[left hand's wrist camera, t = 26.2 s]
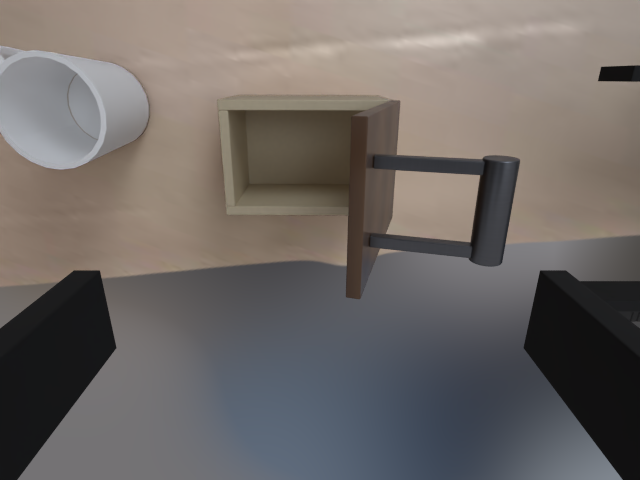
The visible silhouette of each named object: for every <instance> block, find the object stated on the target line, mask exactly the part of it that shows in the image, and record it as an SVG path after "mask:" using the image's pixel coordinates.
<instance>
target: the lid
mask: <svg viewBox="0 0 640 480" xmlns="http://www.w3.org/2000/svg"><path fill="white" fill-rule="evenodd" d="M399 113H400V101H397V100H390V101H388V102H385V103H383V104H381V105H378V106H376V107H373V108H371V109H368V110H366V111H363V112H361V113H358V114H356V115H353V116H351V142H350V176H349V210H348V244H347V279H346V297H348V298H355V299H360V298H361V296H362V293H363V290H364V288H365V285H366V283H367V280H368V278H369V275H370V273H371V270H372V267H373V265H374V262H375V260H376V257H377V255H378V252H379V250H380V248H382V249H391V250H401V251H410V252H419V253H428V254H438V255H447V256H456V257H466V258H469V260H470V261H471V262H473V263H475V264H478V265H482V266H498V265H500V264H501V263H502V260H503V254H504V248H505V243H506V237H507V232H508V226H509V220H510V215H511V209H512V204H513V198H514V192H515V187H516V181H517V176H518V170H519V165H520V159H518V158H515V157H509V156H497V155H493V156H485V157H483V159H464V158H444V157H424V156H404V155H397V141H398V127H399ZM395 170H404V171H421V172H437V173H454V174H471V175H480V181H479V188H478V195H477V201H476V208H475V215H474V222H473V229H472V236H471V243H470V242H460V241H450V240H440V239H430V238H420V237H410V236H400V235H389V234H386V232H387V229H388V227H389V224H390V222H391V219H392V213H393V199H394V184H395Z"/></svg>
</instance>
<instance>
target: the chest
mask: <svg viewBox="0 0 640 480" xmlns="http://www.w3.org/2000/svg"><path fill="white" fill-rule="evenodd" d="M390 100H391V99H388V98H385V97H382V96H362V95H236V96H232V97H227V98H223V99H218V100H217V105H218V116H219V128H220V140H221V152H222V164H223V177H224V189H225V201H226V214H227V215H348V210H349V176H350V142H351V116H353V115H356V114H358V113H361V112H363V111H366V110H368V109H371V108H373V107H376V106H378V105H381V104H383V103H385V102H388V101H390Z"/></svg>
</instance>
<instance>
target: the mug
mask: <svg viewBox="0 0 640 480" xmlns="http://www.w3.org/2000/svg"><path fill="white" fill-rule="evenodd" d="M149 116H150V110H149V102H148V98H147V94H146V92H145V90H144V88H143V86H142V85H141V83H140V82H139V81H138V80H137V78H136V77H135V76H134V75H133V74H132V73H130V72H129V71H128V70H126V69H125V68H124V67H121V66H119V65H117V64H114V63H110V62H104V61H98V60H93V59H87V58H81V57H76V56H70V55H64V54H58V53H53V52H46V51H39V50H31V51H23V50H19V49H15V48H12V47H5V46H0V133H1V134H2V136H3V137H4V139H5V140H6V142H7V143H9V144H10V145H11V146H12V147H13V148H14V149H15V150H16V151H17V152H18V153H19V154H20V155H22V156H23V157H25V158H26V159H28V160H29V161H31V162H33V163H36V164H38V165H41V166H43V167H46V168H52V169H60V170H62V169H70V168H76V167H78V166H81V165H83V164H85V163H88V162H90V161H92V160H94V159H96V158H98V157H100V156H103V155H105V154H107V153H109V152H111V151H113V150H115V149H117V148H120V147H122V146H124V145H126V144H128V143H130V142H132V141H135V140H136V139H137V138H138V137H139V136H140V135H142V133H143V132H144V130H145V128H146V127H147V124H148V120H149Z"/></svg>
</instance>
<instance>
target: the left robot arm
mask: <svg viewBox="0 0 640 480" xmlns="http://www.w3.org/2000/svg"><path fill="white" fill-rule="evenodd" d="M115 349H116V344H115V339H114V335H113V330H112V325H111V321H110V316H109V311H108V307H107V302H106V297H105V293H104V288H103V283H102V279H101V274H100V271H73V272H72V273H70V274H69V275H68V276H67V277H65V278H64V279H63V280H61V281H60V282H59V283H58V284H56V285H55V286H54V287H53V288H51V289H50V290H49V291H47V292H46V293H45V294H44V295H42V296H41V297H40V298H39V299H37V300H36V301H35V302H33V303H32V304H31V305H30V306H28V307H27V308H26V309H25V310H23V311H22V312H21V313H19V314H18V315H17V316H16V317H14V318H13V319H12V320H11V321H9V322H8V323H7V324H5V325H4V326H3V327H2V328H0V480H17V479H18V478H19V477H20V475H21V474H22V473H23V471H24V470H25V469H26V467H27V466H28V465H29V463H30V462H31V461H32V459H33V458H34V457H35V455H36V454H37V453H38V451H39V450H40V449H41V447H42V446H43V445H44V443H45V442H46V441H47V439H48V438H49V437H50V435H51V434H52V433H53V431H54V430H55V429H56V427H57V426H58V425H59V423H60V422H61V421H62V419H63V418H64V417H65V415H66V414H67V413H68V412H69V410H70V409H71V407H72V406H73V405H74V403H75V402H76V401H77V400H78V398H79V397H80V396H81V394H82V393H83V392H84V390H85V389H86V387H87V386H88V385H89V384H90V382H91V381H92V380H93V378H94V377H95V376H96V374H97V373H98V372H99V370H100V369H101V368H102V366H103V365H104V364H105V362H106V361H107V360H108V358H109V357H110V356H111V354H112V353H113V352H114V350H115ZM524 349H525V350H526V352H527V353H528V354H529V356H530V357H531V358H532V360H533V361H534V362H535V364H536V365H537V366H538V368H539V369H540V370H541V372H542V373H543V374H544V376H545V377H546V378H547V380H548V381H549V382H550V384H551V385H552V386H553V388H554V389H555V390H556V392H557V393H558V394H559V396H560V397H561V398H562V400H563V401H564V402H565V403H566V405H567V406H568V408H569V409H570V410H571V411H572V413H573V414H574V415H575V417H576V418H577V419H578V421H579V422H580V423H581V425H582V426H583V427H584V429H585V430H586V431H587V433H588V434H589V435H590V437H591V438H592V439H593V441H594V442H595V443H596V445H597V446H598V447H599V449H600V450H601V451H602V453H603V454H604V455H605V457H606V458H607V459H608V461H609V462H610V463H611V465H612V466H613V467H614V469H615V470H616V471H617V473H618V474H619V475H620V477H621V478H622V479H623V480H640V328H638V327H637V326H636V325H635V324H633V323H632V322H631V321H629V320H628V319H627V318H626V317H624V316H623V315H622V314H621V313H619V312H618V311H617V310H615V309H614V308H613V307H612V306H610V305H609V304H608V303H607V302H605V301H604V300H603V299H601V298H600V297H599V296H598V295H596V294H595V293H594V292H593V291H591V290H590V289H589V288H587V287H586V286H585V285H584V284H582V283H581V282H580V281H578V280H577V279H576V278H575V277H573V276H572V275H571V274H570V273H568V272H567V271H540V274H539V279H538V283H537V288H536V293H535V297H534V302H533V307H532V311H531V316H530V321H529V325H528V330H527V335H526V339H525V344H524Z"/></svg>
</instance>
